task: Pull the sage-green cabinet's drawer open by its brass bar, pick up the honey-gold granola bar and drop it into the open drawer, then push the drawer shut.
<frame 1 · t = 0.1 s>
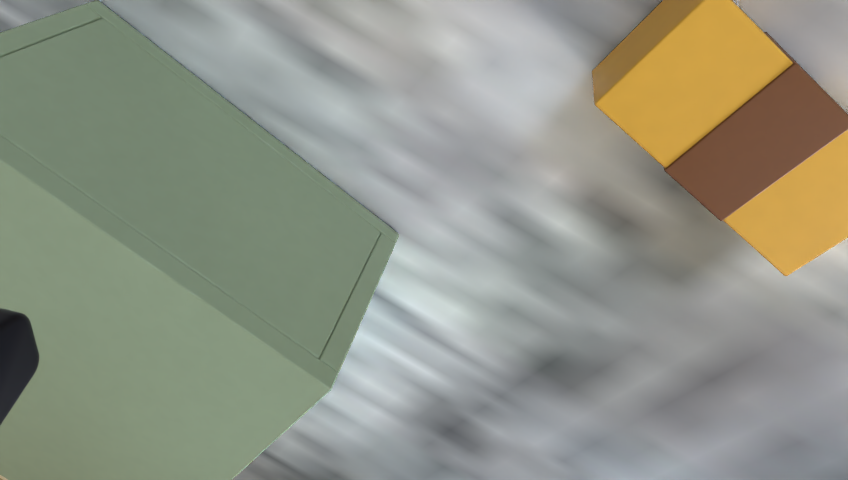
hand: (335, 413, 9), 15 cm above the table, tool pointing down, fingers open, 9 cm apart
cabinet: (180, 237, 27), on the table
drawer: (75, 370, 26), point 4 cm above the table, slide at 1.0 cm
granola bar: (732, 108, 20), on the table
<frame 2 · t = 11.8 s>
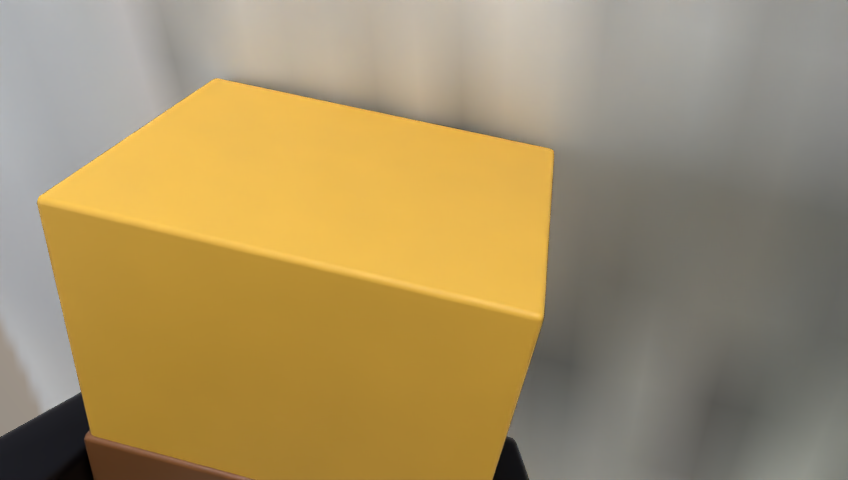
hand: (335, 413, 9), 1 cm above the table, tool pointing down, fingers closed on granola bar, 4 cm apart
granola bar: (354, 363, 9), on the table, touching gripper
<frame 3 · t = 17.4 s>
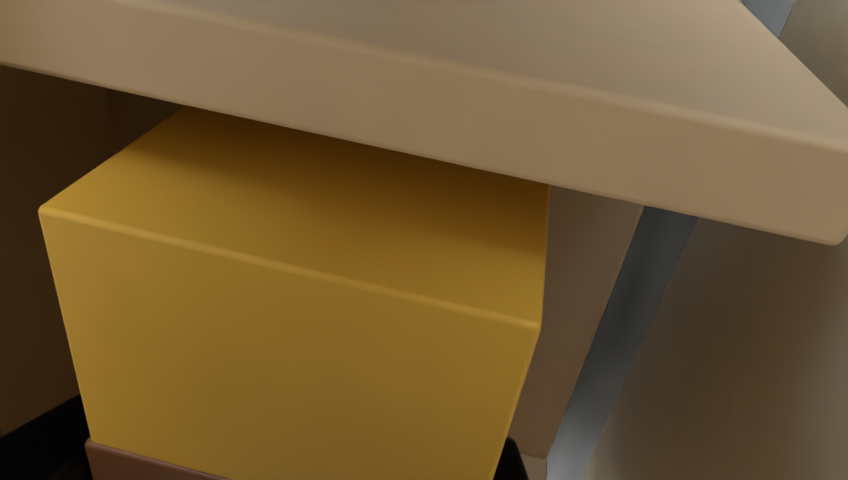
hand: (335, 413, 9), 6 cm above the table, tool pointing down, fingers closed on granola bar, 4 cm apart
drawer: (534, 367, 10), point 4 cm above the table, slide at 8.7 cm
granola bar: (353, 367, 9), point 5 cm above the table, touching gripper
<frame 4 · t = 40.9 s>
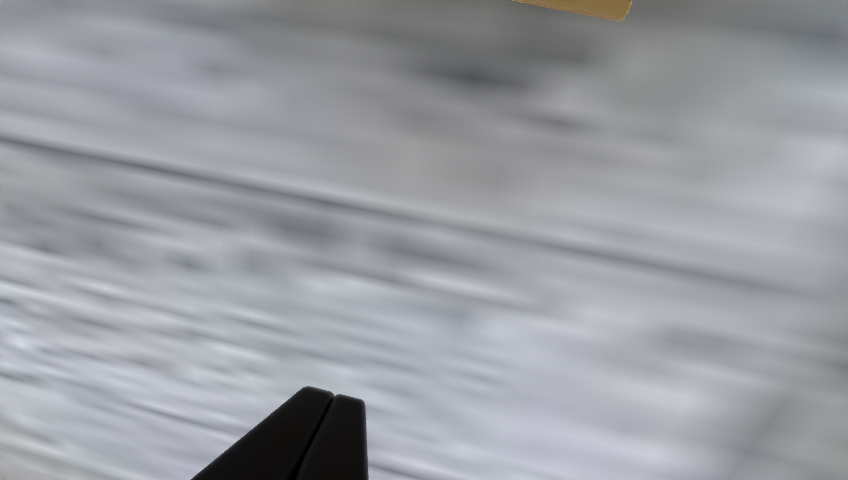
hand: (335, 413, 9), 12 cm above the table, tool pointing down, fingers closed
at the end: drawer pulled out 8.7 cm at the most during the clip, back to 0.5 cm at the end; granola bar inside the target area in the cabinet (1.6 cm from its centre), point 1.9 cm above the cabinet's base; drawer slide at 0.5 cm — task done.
